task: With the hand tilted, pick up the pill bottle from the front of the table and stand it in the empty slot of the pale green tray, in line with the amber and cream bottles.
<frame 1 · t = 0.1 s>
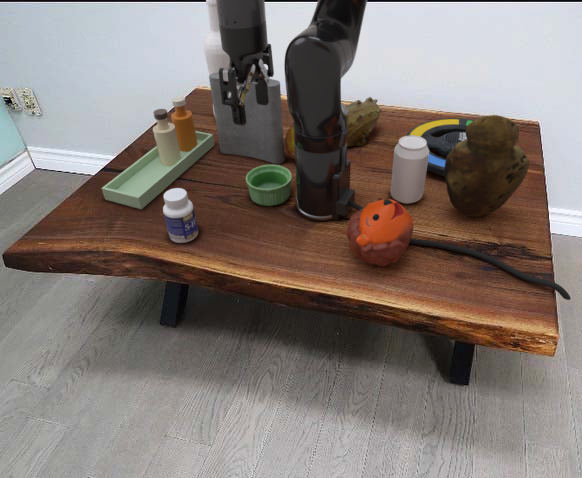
hand: (251, 113, 90), 17 cm above the table, tool pointing down, fingers open, 8 cm apart
hip flask: (252, 154, 113), on the table
cream bottle: (171, 160, 111), resting on tray
amber bottle: (187, 146, 115), resting on tray
sculpture: (474, 215, 92), on the table
pill bottle: (184, 235, 92), on the table
bottle: (230, 118, 128), on the table
fruit: (307, 158, 111), on the table
beverage can: (406, 197, 98), on the table
electronic game: (456, 156, 109), on the table
tray: (163, 170, 109), on the table
ramekin: (270, 196, 100), on the table
seashell: (353, 136, 118), on the table
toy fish: (377, 254, 85), on the table
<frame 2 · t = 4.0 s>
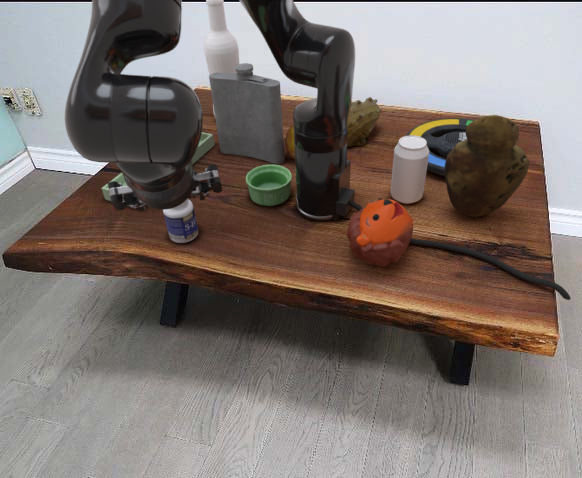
hand: (171, 198, 73), 16 cm above the table, tool tilted 45°, fingers open, 8 cm apart
nothing on the table moved.
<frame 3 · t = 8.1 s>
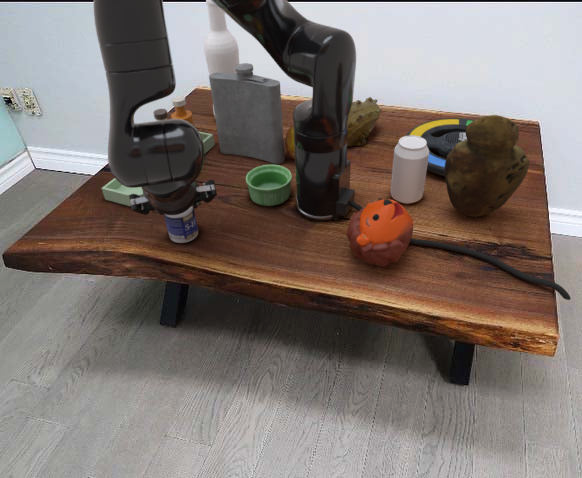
hand: (177, 206, 90), 5 cm above the table, tool tilted 45°, fingers closed on pill bottle, 5 cm apart
pill bottle: (184, 235, 92), on the table, touching gripper
everything else where it was.
when the fingers open (6 cm above the table, at t = 18.4 s): pill bottle stays where it is, resting on tray.
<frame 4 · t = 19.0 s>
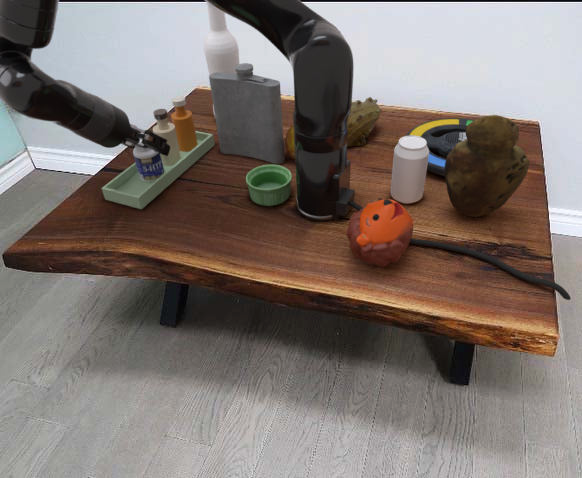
hand: (150, 147, 104), 7 cm above the table, tool tilted 45°, fingers open, 8 cm apart
pill bottle: (152, 176, 106), point 1 cm above the table, touching tray
everything else where it was.
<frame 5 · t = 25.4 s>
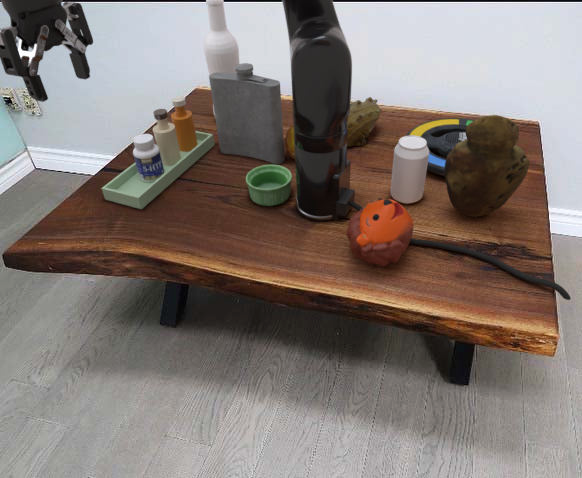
hand: (63, 88, 75), 28 cm above the table, tool pointing down, fingers open, 8 cm apart
nothing on the table moved.
at the end: pill bottle 0.0 cm from the target spot in the tray, point 0.6 cm above the tray's base; pill bottle tilted 0°; pill bottle 13.2 cm from the amber bottle (horizontally) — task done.
